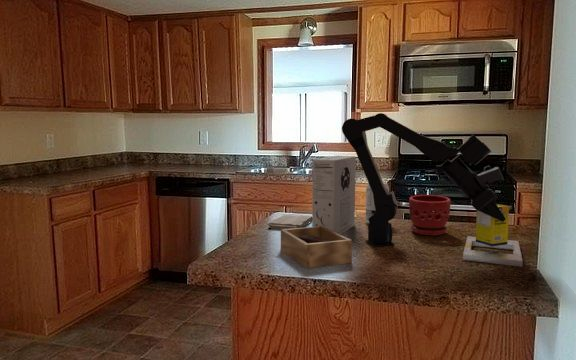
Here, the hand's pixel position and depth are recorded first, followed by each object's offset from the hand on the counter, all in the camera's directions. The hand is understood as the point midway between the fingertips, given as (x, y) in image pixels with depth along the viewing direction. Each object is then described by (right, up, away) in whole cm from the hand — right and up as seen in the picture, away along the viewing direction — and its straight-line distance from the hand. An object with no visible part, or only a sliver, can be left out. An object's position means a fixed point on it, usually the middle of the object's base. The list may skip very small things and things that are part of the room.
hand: (502, 217), depth 124 cm
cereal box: (-44, -7, +28) cm, 53 cm away
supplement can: (-27, -6, +40) cm, 49 cm away
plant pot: (-13, -7, +25) cm, 29 cm away
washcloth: (-59, -7, +37) cm, 70 cm away
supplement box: (-2, -8, +2) cm, 8 cm away
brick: (-52, -11, 0) cm, 53 cm away
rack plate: (-2, -10, +2) cm, 10 cm away
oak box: (-52, -10, -2) cm, 53 cm away
